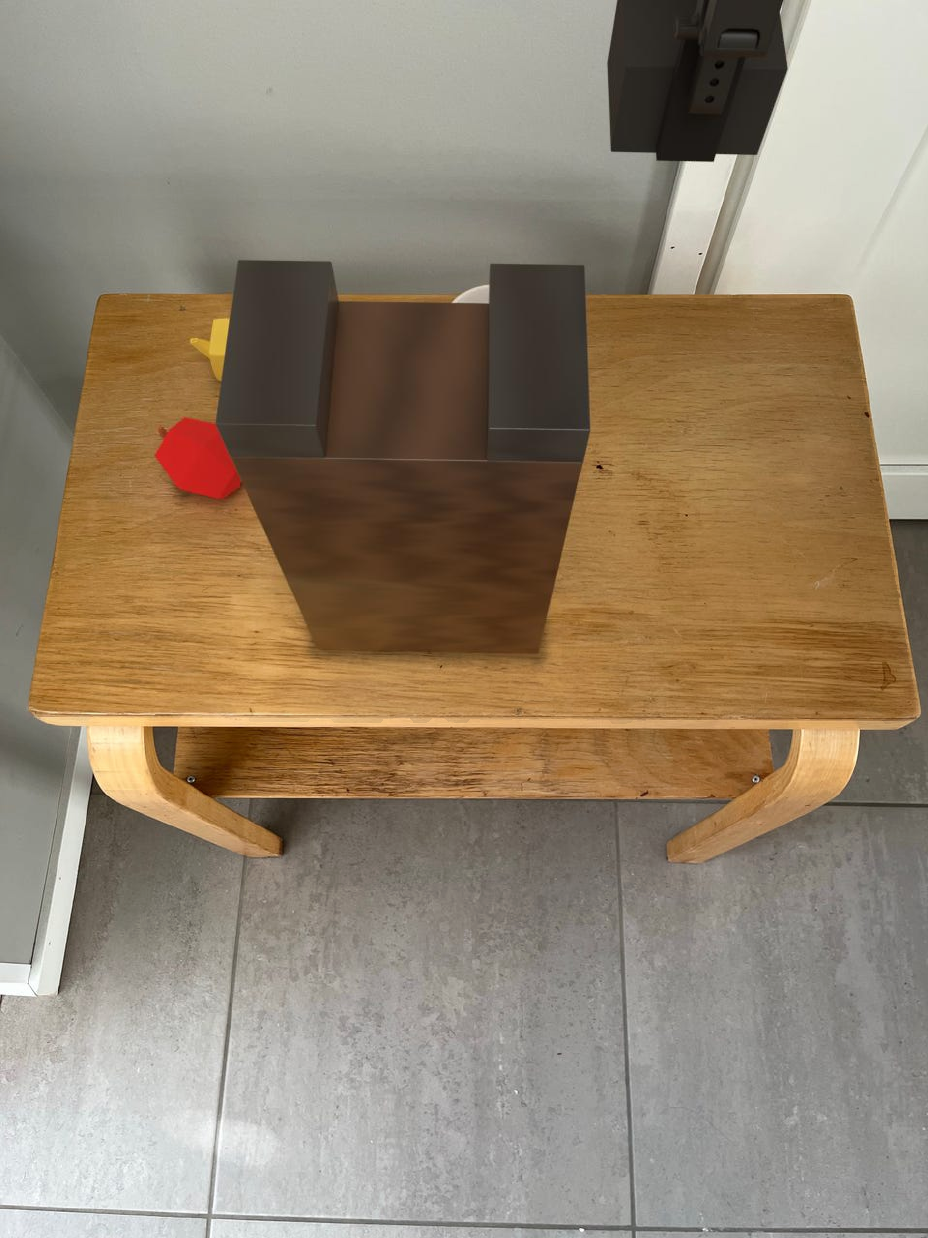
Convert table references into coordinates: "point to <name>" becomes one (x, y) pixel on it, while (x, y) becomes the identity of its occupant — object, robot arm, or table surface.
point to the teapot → (214, 345)
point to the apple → (197, 459)
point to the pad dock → (410, 451)
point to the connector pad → (647, 71)
